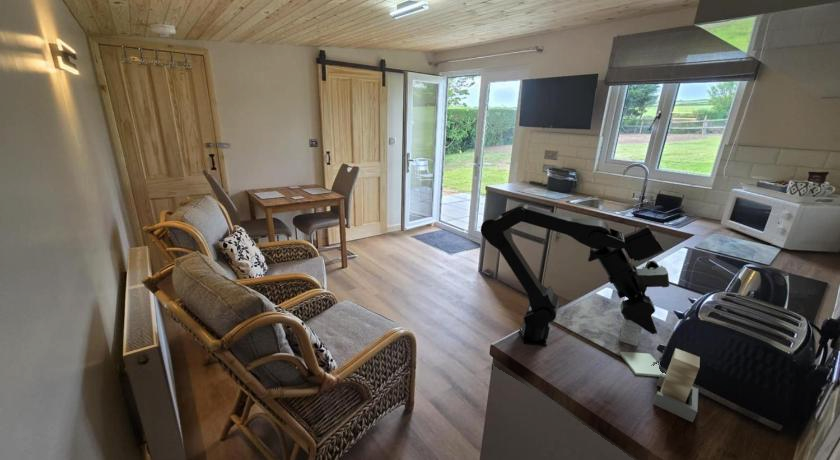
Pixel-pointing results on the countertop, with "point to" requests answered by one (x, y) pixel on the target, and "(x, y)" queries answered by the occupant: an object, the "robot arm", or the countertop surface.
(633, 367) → the sage pad
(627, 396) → the countertop surface
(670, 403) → the grey holder
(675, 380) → the block
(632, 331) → the medicine box
